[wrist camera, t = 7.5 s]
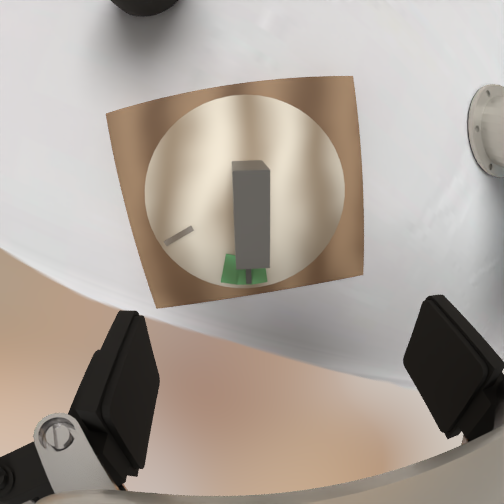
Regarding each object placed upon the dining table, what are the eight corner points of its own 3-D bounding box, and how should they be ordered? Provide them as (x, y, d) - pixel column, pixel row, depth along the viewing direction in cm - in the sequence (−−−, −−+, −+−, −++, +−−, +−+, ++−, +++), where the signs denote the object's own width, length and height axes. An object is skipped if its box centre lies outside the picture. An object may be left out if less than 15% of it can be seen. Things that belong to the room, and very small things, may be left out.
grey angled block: (231, 159, 25) (232, 170, 19) (260, 158, 25) (270, 169, 19) (236, 281, 30) (238, 320, 24) (261, 280, 30) (269, 318, 24)
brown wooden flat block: (341, 79, 26) (355, 75, 23) (353, 262, 34) (365, 277, 31) (116, 113, 26) (103, 113, 22) (161, 293, 34) (155, 311, 31)
